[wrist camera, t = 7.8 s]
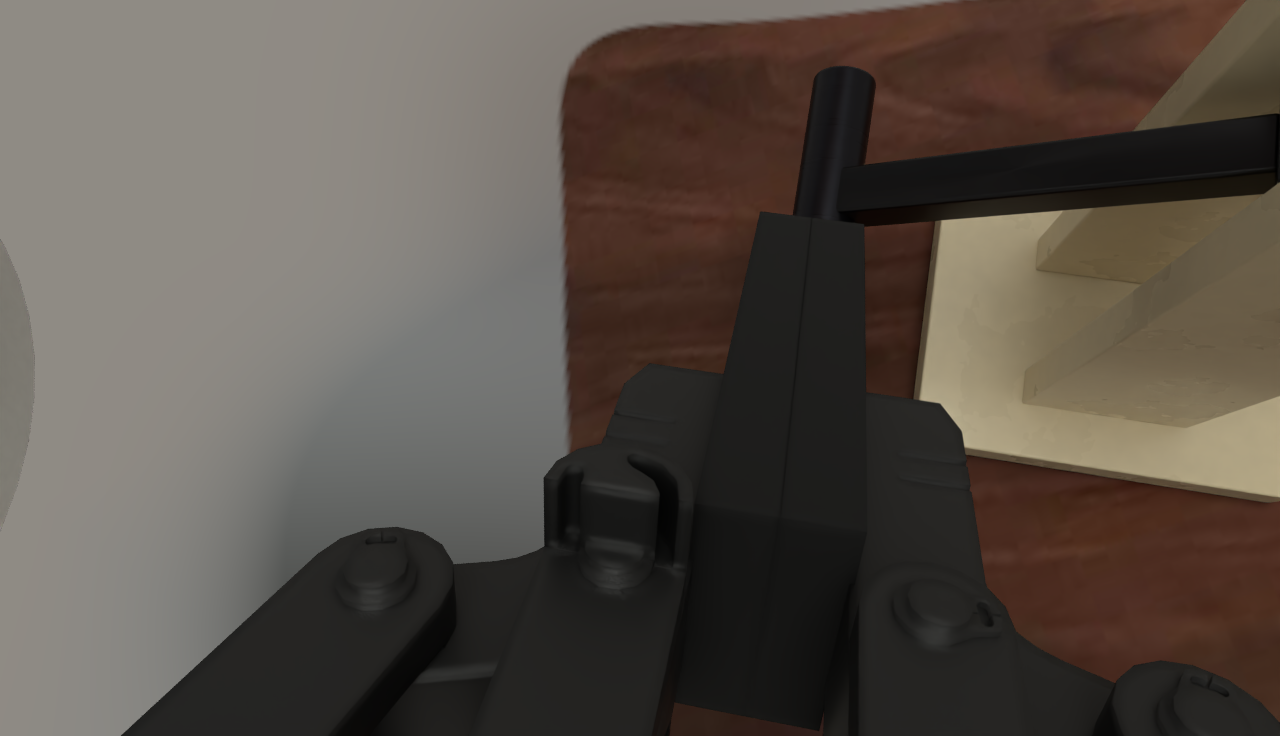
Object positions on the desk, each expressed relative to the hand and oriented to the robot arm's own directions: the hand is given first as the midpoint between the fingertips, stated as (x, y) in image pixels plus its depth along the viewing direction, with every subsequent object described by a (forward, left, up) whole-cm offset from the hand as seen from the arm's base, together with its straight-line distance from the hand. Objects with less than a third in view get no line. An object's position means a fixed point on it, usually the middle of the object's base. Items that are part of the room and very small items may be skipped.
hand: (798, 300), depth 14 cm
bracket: (+9, +5, -14) cm, 18 cm away
